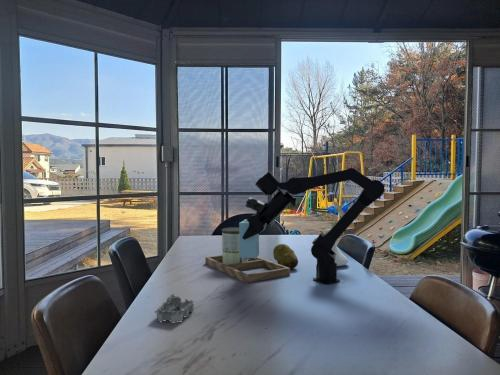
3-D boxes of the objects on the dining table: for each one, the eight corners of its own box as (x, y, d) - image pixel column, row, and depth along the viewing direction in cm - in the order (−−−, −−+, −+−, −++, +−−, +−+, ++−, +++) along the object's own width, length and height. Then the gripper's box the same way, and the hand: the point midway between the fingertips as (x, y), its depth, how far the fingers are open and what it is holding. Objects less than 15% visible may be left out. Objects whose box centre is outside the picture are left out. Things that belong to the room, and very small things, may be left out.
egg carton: (173, 307, 106) (173, 292, 105) (198, 311, 103) (198, 295, 103) (151, 322, 95) (151, 305, 95) (178, 326, 93) (178, 309, 93)
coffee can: (224, 261, 158) (224, 226, 157) (249, 262, 157) (249, 227, 156) (219, 267, 147) (219, 230, 147) (247, 268, 146) (247, 231, 146)
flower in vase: (346, 269, 144) (347, 202, 143) (316, 267, 148) (316, 201, 147) (349, 261, 157) (350, 199, 156) (321, 259, 161) (321, 199, 159)
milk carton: (259, 254, 139) (258, 218, 138) (255, 258, 133) (254, 220, 133) (244, 254, 140) (243, 218, 139) (239, 257, 135) (239, 220, 134)
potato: (276, 271, 143) (277, 249, 142) (271, 262, 156) (271, 242, 155) (299, 270, 144) (299, 248, 143) (292, 262, 156) (292, 242, 156)
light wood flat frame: (290, 275, 137) (290, 268, 137) (246, 282, 128) (246, 275, 128) (244, 258, 163) (244, 252, 163) (205, 263, 154) (205, 257, 154)
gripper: (265, 188, 144) (237, 217, 147) (252, 190, 126) (220, 224, 129) (287, 209, 142) (258, 239, 145) (277, 215, 124) (244, 248, 127)
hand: (245, 237), depth 137 cm, fingers closed on milk carton, 5 cm apart
